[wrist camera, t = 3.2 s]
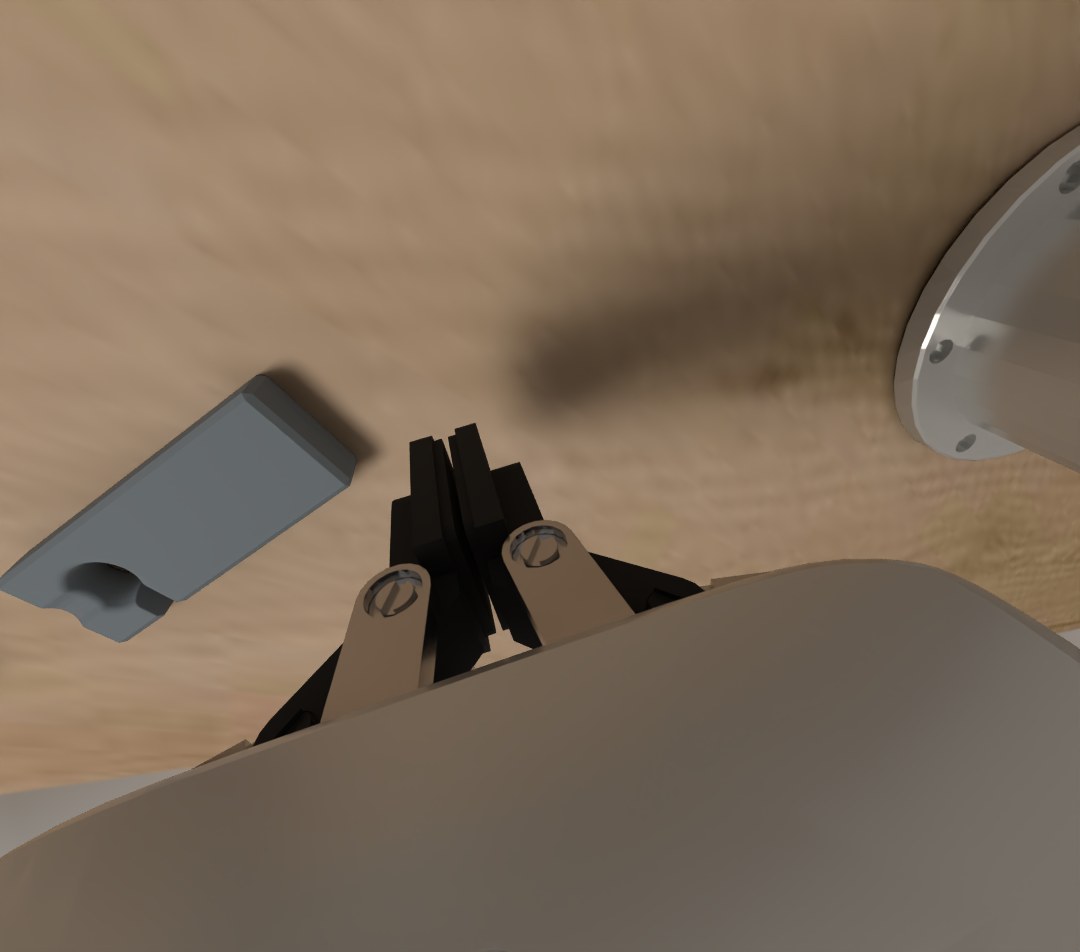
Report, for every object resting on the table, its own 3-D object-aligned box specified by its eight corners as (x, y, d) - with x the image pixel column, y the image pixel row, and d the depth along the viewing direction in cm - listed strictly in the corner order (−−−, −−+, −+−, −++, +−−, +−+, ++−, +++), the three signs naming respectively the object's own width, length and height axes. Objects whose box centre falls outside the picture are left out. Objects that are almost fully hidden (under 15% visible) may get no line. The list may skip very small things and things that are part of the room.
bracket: (362, 454, 16) (354, 486, 14) (150, 604, 17) (121, 649, 16) (265, 364, 14) (243, 389, 12) (33, 545, 15) (-15, 589, 14)
